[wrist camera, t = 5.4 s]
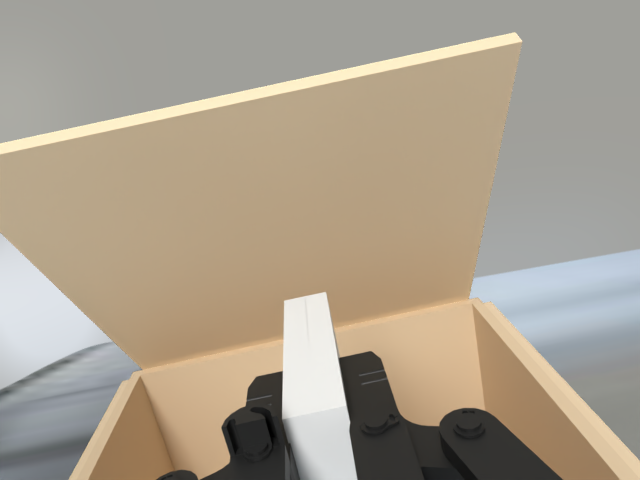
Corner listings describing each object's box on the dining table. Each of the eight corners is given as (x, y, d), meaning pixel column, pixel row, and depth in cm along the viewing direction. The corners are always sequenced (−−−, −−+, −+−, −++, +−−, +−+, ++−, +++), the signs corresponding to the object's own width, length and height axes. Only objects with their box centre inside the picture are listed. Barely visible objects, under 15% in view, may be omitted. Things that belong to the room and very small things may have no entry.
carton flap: (-67, 168, 18) (-62, 156, 18) (142, 369, 32) (143, 360, 32) (522, 41, 18) (515, 32, 18) (468, 299, 32) (465, 291, 32)
